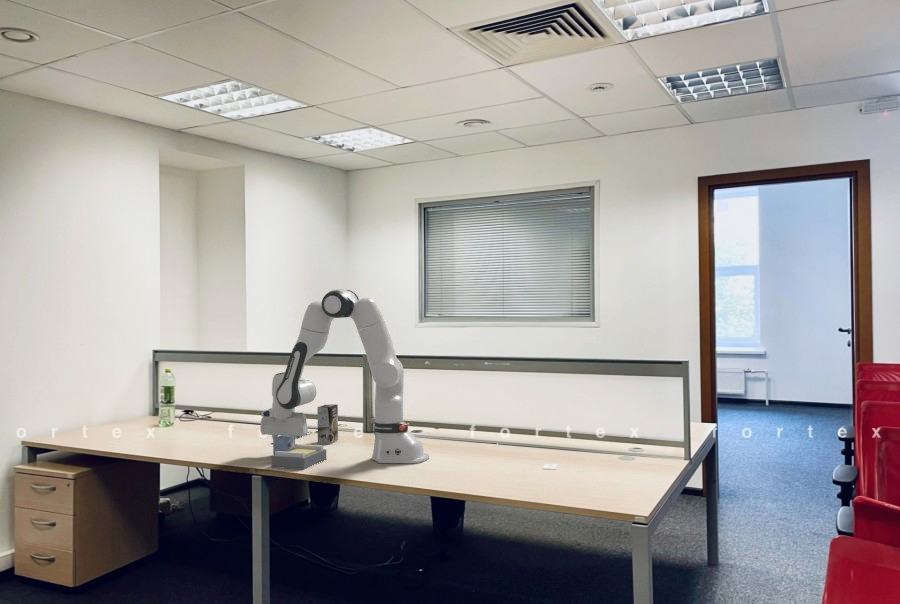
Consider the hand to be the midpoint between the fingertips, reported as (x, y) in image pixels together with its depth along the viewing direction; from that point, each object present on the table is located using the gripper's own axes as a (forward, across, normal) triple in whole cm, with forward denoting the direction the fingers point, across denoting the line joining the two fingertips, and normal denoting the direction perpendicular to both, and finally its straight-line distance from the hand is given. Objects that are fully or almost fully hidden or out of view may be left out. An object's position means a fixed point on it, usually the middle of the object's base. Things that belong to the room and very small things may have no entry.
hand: (284, 446), depth 269 cm
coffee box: (+4, -4, -28) cm, 29 cm away
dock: (+4, -14, +11) cm, 18 cm away
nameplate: (+4, +16, -36) cm, 40 cm away
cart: (+4, 0, 0) cm, 4 cm away
